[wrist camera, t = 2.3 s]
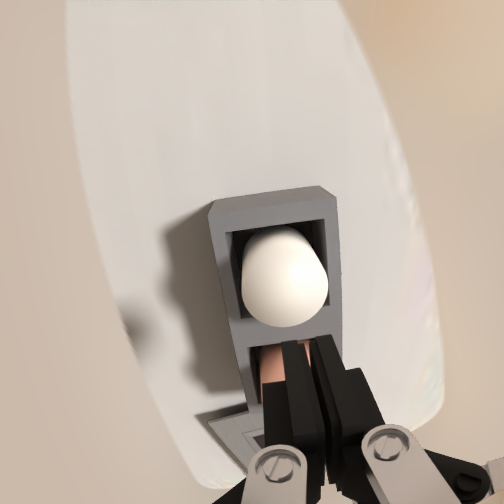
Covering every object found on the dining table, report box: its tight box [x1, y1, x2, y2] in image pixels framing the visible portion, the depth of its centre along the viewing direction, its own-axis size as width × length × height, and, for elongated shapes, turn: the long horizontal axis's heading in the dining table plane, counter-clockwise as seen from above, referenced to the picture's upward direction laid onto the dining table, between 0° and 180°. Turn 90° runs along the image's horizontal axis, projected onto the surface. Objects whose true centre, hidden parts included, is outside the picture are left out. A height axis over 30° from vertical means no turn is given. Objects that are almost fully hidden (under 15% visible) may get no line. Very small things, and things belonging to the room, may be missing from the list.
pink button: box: [259, 338, 314, 404], centre depth 19 cm, size 4×4×4 cm
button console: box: [207, 186, 342, 414], centre depth 20 cm, size 14×6×4 cm, turn 8°
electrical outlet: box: [208, 410, 327, 472], centre depth 26 cm, size 13×10×2 cm
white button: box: [242, 225, 328, 327], centre depth 17 cm, size 4×4×4 cm
